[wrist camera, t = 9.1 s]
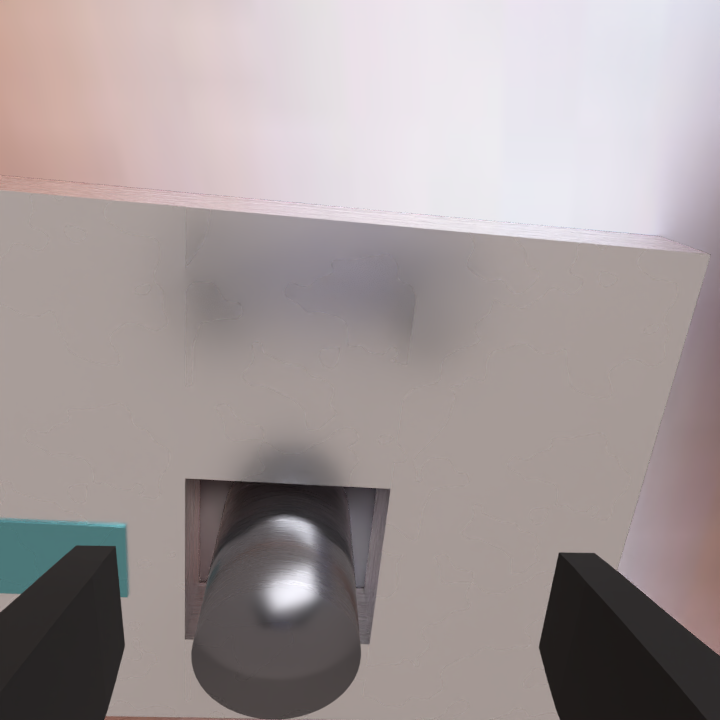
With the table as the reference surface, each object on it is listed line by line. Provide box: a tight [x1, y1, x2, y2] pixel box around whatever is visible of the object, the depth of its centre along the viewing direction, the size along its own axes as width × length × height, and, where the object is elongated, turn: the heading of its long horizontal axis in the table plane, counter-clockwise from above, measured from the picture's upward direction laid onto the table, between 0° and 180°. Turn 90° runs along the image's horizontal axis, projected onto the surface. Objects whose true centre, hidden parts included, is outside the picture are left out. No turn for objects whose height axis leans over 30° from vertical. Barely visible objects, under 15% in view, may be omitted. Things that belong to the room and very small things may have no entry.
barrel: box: [191, 481, 361, 719], centre depth 18 cm, size 4×4×6 cm
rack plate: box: [0, 175, 711, 720], centre depth 19 cm, size 20×16×3 cm
